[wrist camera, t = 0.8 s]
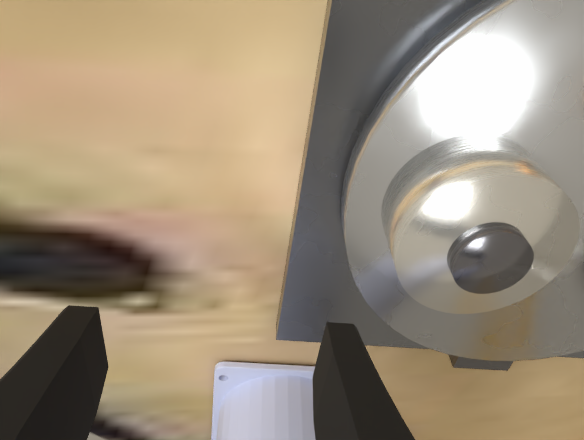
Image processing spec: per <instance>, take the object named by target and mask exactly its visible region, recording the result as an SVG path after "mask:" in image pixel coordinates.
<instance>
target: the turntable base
mask: <svg viewBox="0 0 584 440" xmlns="http://www.w3.org/2000/svg"><path fill="white" fill-rule="evenodd" d="M481 1H482V0H328V3H327V9H326V15H325V22H324V28H323V34H322V40H321V47H320V53H319V59H318V65H317V72H316V78H315V84H314V90H313V97H312V103H311V109H310V115H309V122H308V128H307V134H306V141H305V147H304V153H303V159H302V166H301V172H300V178H299V184H298V191H297V197H296V203H295V209H294V216H293V222H292V228H291V234H290V241H289V247H288V253H287V260H286V266H285V272H284V278H283V285H282V291H281V297H280V303H279V310H278V316H277V322H276V340H289V341H305V342H322V338H323V334H324V330H325V326H326V322H333V323H349V324H354V325H355V326H356V327H357V329H358V332H359V334H360V336H361V339H362V341H363V343H364V345H372V346H389V347H406V348H423V349H430V348H427V347H425V346H423V345H420V344H418V343H416V342H414V341H412V340H410V339H408V338H406V337H405V336H403V335H402V334H400V333H398V332H397V331H395V330H394V329H392V328H391V327H390V326H389V325H388V324H387V323H385V322H384V321H383V320H382V319H381V318H380V317H378V315H377V314H376V313H375V312H374V311H373V309H372V308H371V307H370V306H369V305H368V304H367V302H366V301H365V299H364V297H363V296H362V294H361V292H360V290H359V289H358V287H357V285H356V283H355V280H354V277H353V275H352V272H351V269H350V266H349V261H348V256H347V251H346V245H345V240H344V234H343V228H342V223H341V198H342V191H343V184H344V177H345V173H346V169H347V166H348V163H349V159H350V156H351V153H352V150H353V147H354V145H355V143H356V140H357V138H358V136H359V134H360V132H361V130H362V127H363V125H364V123H365V121H366V119H367V118H368V116H369V114H370V113H371V111H372V110H373V108H374V106H375V105H376V103H377V101H378V100H379V98H380V97H381V95H382V93H383V92H384V91H385V90H386V88H387V87H388V86H389V84H390V83H391V82H392V81H393V79H394V78H395V77H396V76H397V74H398V73H399V72H400V71H401V69H402V68H403V67H404V66H405V65H406V64H407V63H408V62H409V61H410V60H411V59H412V58H413V57H414V56H415V55H416V54H417V53H418V52H419V51H420V50H421V49H422V48H423V47H424V46H425V45H426V44H427V43H428V42H429V41H430V40H431V39H432V38H433V37H434V36H435V35H436V34H438V33H439V32H440V31H441V30H443V29H444V28H445V27H446V26H448V25H449V24H450V23H451V22H453V21H454V20H455V19H456V18H458V17H459V16H460V15H461V14H462V13H464V12H465V11H467V10H468V9H470V8H471V7H473V6H475V5H476V4H478V3H479V2H481ZM557 357H573V358H584V351H581V352H576V353H572V354H567V355H562V356H557Z"/></svg>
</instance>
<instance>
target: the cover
mask: <svg viewBox="0 0 584 440" xmlns="http://www.w3.org/2000/svg"><path fill="white" fill-rule="evenodd" d="M381 220H382V226H383V229H384V233H385V236H386V239H387V242H388V246H389V249H390V252H391V256H392V259H393V262H394V265H395V269H396V272H397V275H398V279H399V281H400V283H401V285H402V287H403V288H404V290H405V291H406V292H407V293H408V294H409V295H410V296H411V297H412V298H413V299H414V300H416V301H417V302H419V303H420V304H422V305H424V306H426V307H428V308H431V309H434V310H437V311H441V312H445V313H453V314H474V313H482V312H488V311H492V310H496V309H500V308H503V307H506V306H509V305H511V304H514V303H516V302H519V301H521V300H523V299H525V298H527V297H529V296H530V295H532V294H534V293H535V292H537V291H538V290H540V289H541V288H542V287H544V286H545V285H546V284H548V283H549V282H550V281H551V280H552V279H553V278H554V277H556V276H557V274H558V273H559V272H560V271H561V270H562V269H563V268H564V266H565V265H566V264H567V262H568V261H569V259H570V257H571V256H572V254H573V252H574V250H575V247H576V245H577V242H578V237H579V232H580V222H579V216H578V213H577V210H576V207H575V205H574V204H573V202H572V201H571V199H570V198H569V197H568V196H567V195H566V194H565V192H564V191H563V190H562V189H561V188H560V187H559V186H558V185H557V184H556V182H555V181H554V180H553V179H552V178H551V177H550V176H549V175H548V174H547V173H546V171H545V170H544V169H543V168H542V167H541V166H540V165H539V164H538V163H537V161H536V160H535V159H534V158H533V157H532V156H531V155H530V154H529V153H528V152H527V151H526V150H525V149H524V148H523V147H521V146H520V145H519V144H517V143H515V142H513V141H511V140H509V139H506V138H503V137H500V136H495V135H489V134H471V135H463V136H458V137H453V138H450V139H447V140H443V141H441V142H439V143H436V144H434V145H432V146H430V147H428V148H426V149H425V150H423V151H421V152H420V153H418V154H417V155H416V156H414V157H413V158H412V159H410V160H409V161H408V162H407V163H406V164H405V165H404V166H403V167H402V168H401V169H400V170H399V171H398V172H397V174H396V175H395V176H394V178H393V179H392V181H391V182H390V184H389V186H388V188H387V190H386V192H385V195H384V198H383V202H382V207H381Z"/></svg>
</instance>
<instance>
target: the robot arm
mask: <svg viewBox="0 0 584 440" xmlns="http://www.w3.org/2000/svg"><path fill="white" fill-rule="evenodd" d="M107 370H108V362H107V356H106V350H105V344H104V338H103V332H102V326H101V320H100V314H99V309H98V307H84V306H68V307H66V308H65V309H64V310H63V311H62V312H61V313H60V314H59V315H58V317H57V318H56V319H55V320H54V321H53V322H52V324H51V325H50V326H49V327H48V328H47V329H46V330H45V332H44V333H43V334H42V335H41V336H40V337H39V338H38V339H37V341H36V342H35V343H34V344H33V345H32V346H31V347H30V348H29V349H28V350H27V352H26V353H25V354H24V355H23V356H22V357H21V358H20V359H19V360H18V361H17V363H16V364H15V365H14V366H13V367H12V368H11V369H10V370H9V371H8V372H7V373H6V374H5V375H4V376H3V377H2V378H1V379H0V440H87V438H88V435H89V432H90V430H91V427H92V424H93V422H94V419H95V416H96V413H97V410H98V406H99V402H100V398H101V394H102V391H103V386H104V382H105V378H106V374H107ZM211 440H415V439H414V437H413V436H412V434H411V432H410V431H409V429H408V427H407V425H406V424H405V422H404V420H403V419H402V417H401V415H400V413H399V411H398V410H397V408H396V406H395V404H394V402H393V401H392V399H391V397H390V395H389V393H388V392H387V390H386V388H385V386H384V384H383V382H382V380H381V378H380V376H379V374H378V372H377V370H376V368H375V366H374V364H373V362H372V360H371V358H370V356H369V354H368V352H367V350H366V347H365V345H364V343H363V341H362V339H361V336H360V334H359V332H358V329H357V327H356V326H355V325H354V324H349V323H333V322H326V326H325V330H324V334H323V338H322V342H321V346H320V350H319V354H318V358H317V362H316V365H315V366H299V365H281V364H262V363H244V362H226V361H224V362H219V363H217V364H216V366H215V373H214V394H213V415H212V436H211Z"/></svg>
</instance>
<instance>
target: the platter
mask: <svg viewBox="0 0 584 440" xmlns="http://www.w3.org/2000/svg"><path fill="white" fill-rule="evenodd" d="M471 134H489V135H495V136H500V137H503V138H506V139H509V140H511V141H513V142H515V143H517V144H519V145H520V146H521V147H523V148H524V149H525V150H526V151H527V152H528V153H529V154H530V155H531V156H532V157H533V158H534V159H535V160H536V161H537V163H538V164H539V165H540V166H541V167H542V168H543V169H544V170H545V171H546V173H547V174H548V175H549V176H550V177H551V178H552V179H553V180H554V181H555V182H556V184H557V185H558V186H559V187H560V188H561V189H562V190H563V191H564V192H565V194H566V195H567V196H568V197H569V198H570V199H571V201H572V202H573V204H574V205H575V207H576V210H577V213H578V216H579V222H580V232H579V237H578V242H577V245H576V247H575V250H574V252H573V254H572V256H571V257H570V259H569V261H568V262H567V264H566V265H565V266H564V268H563V269H562V270H561V271H560V272H559V273H558V274H557V276H556V277H554V278H553V279H552V280H551V281H550V282H549V283H548V284H546V285H545V286H544V287H542V288H541V289H540V290H538V291H537V292H535V293H534V294H532V295H530V296H529V297H527V298H525V299H523V300H521V301H519V302H516V303H514V304H511V305H509V306H506V307H503V308H500V309H496V310H492V311H488V312H482V313H474V314H453V313H445V312H441V311H437V310H434V309H431V308H428V307H426V306H424V305H422V304H420V303H419V302H417V301H416V300H414V299H413V298H412V297H411V296H410V295H409V294H408V293H407V292H406V291H405V290H404V288H403V287H402V285H401V283H400V281H399V279H398V275H397V272H396V269H395V265H394V262H393V259H392V256H391V252H390V249H389V246H388V242H387V239H386V236H385V233H384V229H383V226H382V220H381V207H382V202H383V198H384V195H385V192H386V190H387V188H388V186H389V184H390V182H391V181H392V179H393V178H394V176H395V175H396V174H397V172H398V171H399V170H400V169H401V168H402V167H403V166H404V165H405V164H406V163H407V162H408V161H409V160H410V159H412V158H413V157H414V156H416V155H417V154H418V153H420V152H421V151H423V150H425V149H426V148H428V147H430V146H432V145H434V144H436V143H439V142H441V141H443V140H447V139H450V138H453V137H458V136H463V135H471ZM341 223H342V228H343V234H344V240H345V245H346V251H347V256H348V261H349V266H350V269H351V272H352V275H353V277H354V280H355V283H356V285H357V287H358V289H359V290H360V292H361V294H362V296H363V297H364V299H365V301H366V302H367V304H368V305H369V306H370V307H371V308H372V309H373V311H374V312H375V313H376V314H377V315H378V317H380V318H381V319H382V320H383V321H384V322H385V323H387V324H388V325H389V326H390V327H391V328H392V329H394V330H395V331H397V332H398V333H400V334H402V335H403V336H405V337H406V338H408V339H410V340H412V341H414V342H416V343H418V344H420V345H423V346H425V347H427V348H430V349H433V350H436V351H439V352H442V353H446V354H448V355H449V357H450V360H451V363H452V366H453V367H454V368H472V369H489V370H507V371H508V369H509V368H510V366H511V364H512V363H513V361H519V360H534V359H542V358H549V357H556V356H562V355H567V354H572V353H576V352H581V351H584V0H482V1H481V2H479V3H478V4H476V5H475V6H473V7H471V8H470V9H468V10H467V11H465V12H464V13H462V14H461V15H460V16H459V17H458V18H456V19H455V20H454V21H453V22H451V23H450V24H449V25H448V26H446V27H445V28H444V29H443V30H441V31H440V32H439V33H438V34H436V35H435V36H434V37H433V38H432V39H431V40H430V41H429V42H428V43H427V44H426V45H425V46H424V47H423V48H422V49H421V50H420V51H419V52H418V53H417V54H416V55H415V56H414V57H413V58H412V59H411V60H410V61H409V62H408V63H407V64H406V65H405V66H404V67H403V68H402V69H401V71H400V72H399V73H398V74H397V76H396V77H395V78H394V79H393V81H392V82H391V83H390V84H389V86H388V87H387V88H386V90H385V91H384V92H383V93H382V95H381V97H380V98H379V100H378V101H377V103H376V105H375V106H374V108H373V110H372V111H371V113H370V114H369V116H368V118H367V119H366V121H365V123H364V125H363V127H362V130H361V132H360V134H359V136H358V138H357V140H356V143H355V145H354V147H353V150H352V153H351V156H350V159H349V163H348V166H347V169H346V173H345V177H344V184H343V191H342V198H341Z"/></svg>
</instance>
